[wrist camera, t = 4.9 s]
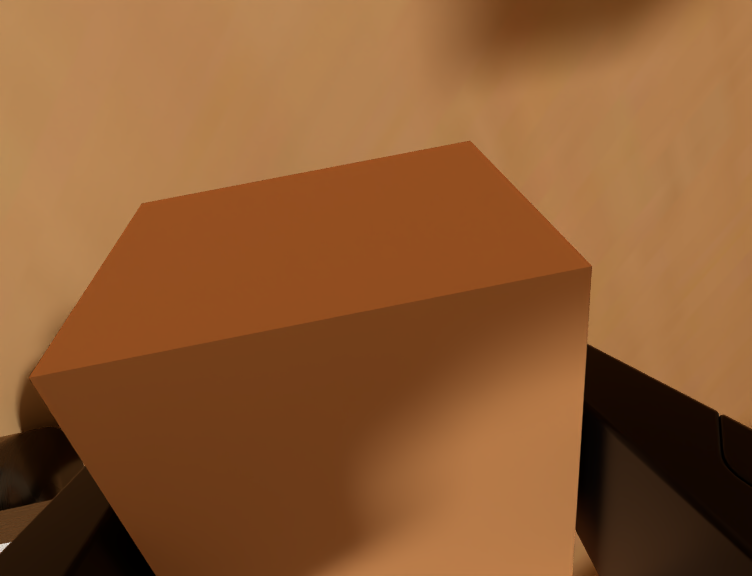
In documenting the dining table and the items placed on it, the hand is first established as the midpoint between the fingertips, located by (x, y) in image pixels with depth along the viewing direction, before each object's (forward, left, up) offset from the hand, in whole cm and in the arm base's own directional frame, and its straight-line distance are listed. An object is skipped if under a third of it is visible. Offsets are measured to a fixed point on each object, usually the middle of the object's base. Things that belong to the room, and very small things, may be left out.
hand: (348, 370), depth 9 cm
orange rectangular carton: (0, 0, -1) cm, 1 cm away
